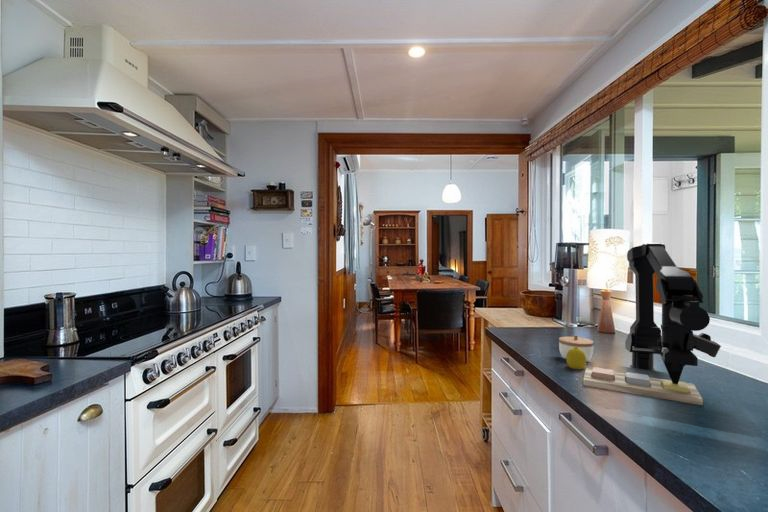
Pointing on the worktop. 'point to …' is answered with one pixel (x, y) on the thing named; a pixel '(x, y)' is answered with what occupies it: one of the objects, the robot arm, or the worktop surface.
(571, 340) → the lidded jar
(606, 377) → the clay button
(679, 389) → the yellow button
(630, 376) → the grey button
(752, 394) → the worktop surface
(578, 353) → the lemon
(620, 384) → the button board
